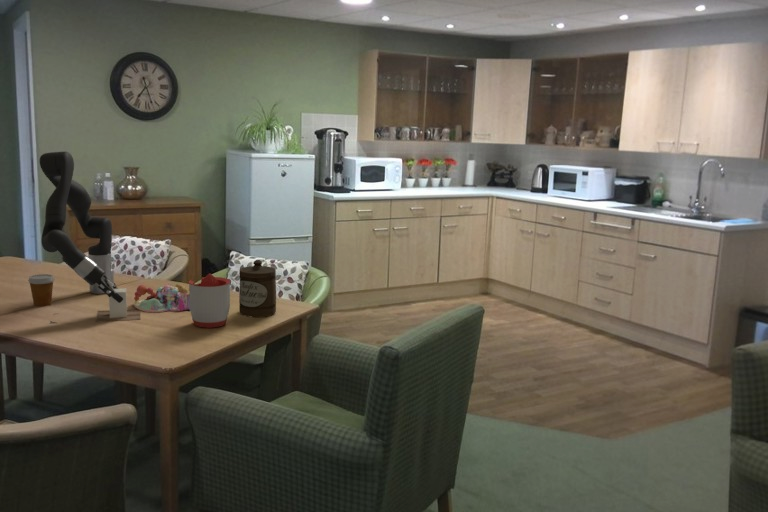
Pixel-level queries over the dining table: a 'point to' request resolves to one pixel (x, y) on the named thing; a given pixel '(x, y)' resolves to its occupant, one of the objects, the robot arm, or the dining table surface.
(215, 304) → the citrus juicer
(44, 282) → the disposable coffee cup
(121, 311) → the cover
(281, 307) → the dining table surface
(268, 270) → the wooden container
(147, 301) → the pastel sphere sculpture
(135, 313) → the board
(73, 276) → the dining table surface
